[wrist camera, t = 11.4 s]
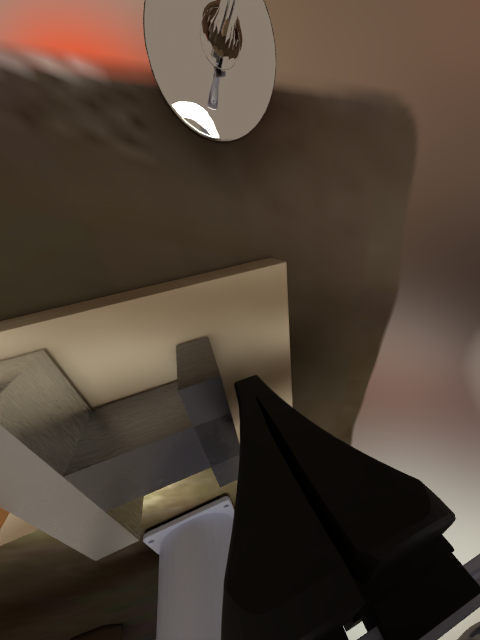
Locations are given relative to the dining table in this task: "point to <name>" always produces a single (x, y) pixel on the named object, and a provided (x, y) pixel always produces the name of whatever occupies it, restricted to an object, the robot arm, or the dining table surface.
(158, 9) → the wineglass
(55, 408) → the moving jaw
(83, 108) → the dining table surface
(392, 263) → the dining table surface
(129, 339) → the vise bed
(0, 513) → the orange block
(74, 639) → the beer bottle
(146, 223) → the dining table surface
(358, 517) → the robot arm
